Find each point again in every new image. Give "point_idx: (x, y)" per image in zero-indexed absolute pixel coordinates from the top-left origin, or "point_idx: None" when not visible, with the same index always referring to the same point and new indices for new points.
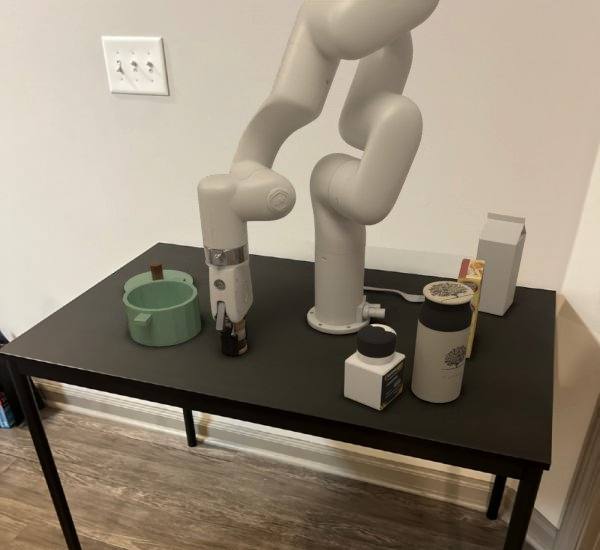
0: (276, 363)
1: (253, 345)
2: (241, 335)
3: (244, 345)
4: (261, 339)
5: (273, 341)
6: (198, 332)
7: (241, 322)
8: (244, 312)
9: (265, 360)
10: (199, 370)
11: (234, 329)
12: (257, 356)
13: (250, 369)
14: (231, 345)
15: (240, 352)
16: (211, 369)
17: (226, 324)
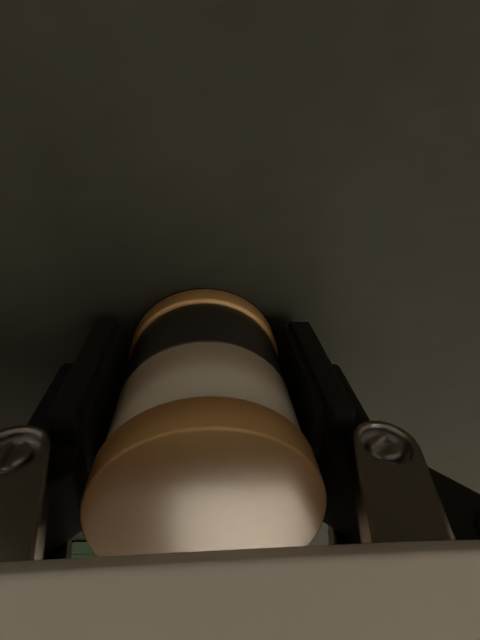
0: (376, 6)
1: (132, 259)
2: (260, 374)
3: (229, 313)
4: (28, 223)
5: (22, 113)
6: (83, 543)
7: (194, 459)
8: (391, 625)
9: (329, 120)
10: (420, 442)
11: (410, 481)
12: (276, 196)
13: (441, 205)
14: (351, 394)
15: (262, 315)
16: (417, 402)
17: (256, 548)
